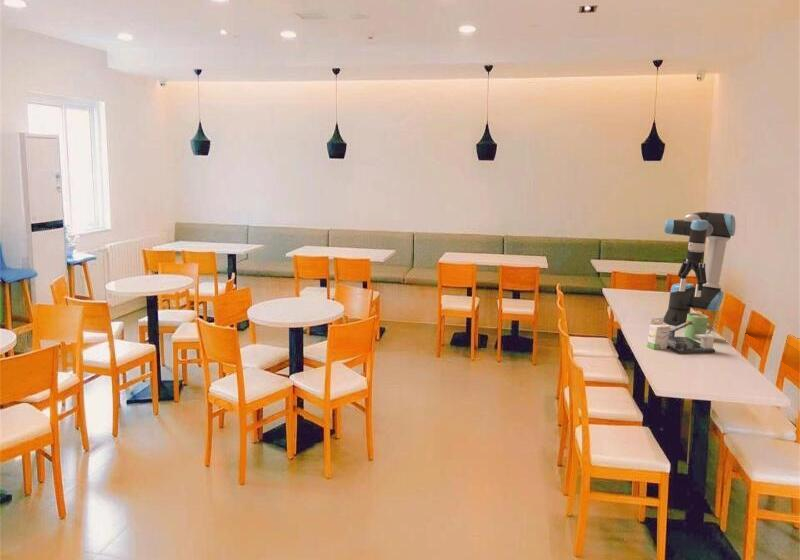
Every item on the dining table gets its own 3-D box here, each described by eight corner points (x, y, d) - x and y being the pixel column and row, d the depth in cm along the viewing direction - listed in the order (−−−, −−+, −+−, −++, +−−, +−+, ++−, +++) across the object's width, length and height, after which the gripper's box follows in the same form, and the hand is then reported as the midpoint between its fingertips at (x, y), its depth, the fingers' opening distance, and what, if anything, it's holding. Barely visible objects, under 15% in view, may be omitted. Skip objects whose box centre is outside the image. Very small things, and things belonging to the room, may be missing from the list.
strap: (670, 333, 320) (669, 331, 321) (693, 323, 303) (692, 321, 304) (665, 333, 320) (665, 331, 320) (688, 323, 303) (687, 321, 303)
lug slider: (706, 346, 310) (708, 334, 309) (712, 348, 306) (714, 336, 305) (692, 346, 308) (694, 334, 307) (698, 348, 304) (700, 336, 303)
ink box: (654, 349, 306) (658, 320, 303) (646, 346, 310) (650, 318, 307) (667, 348, 309) (671, 319, 306) (659, 345, 313) (663, 317, 310)
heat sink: (679, 341, 317) (680, 336, 317) (689, 346, 309) (690, 340, 309) (665, 341, 315) (666, 336, 315) (675, 346, 308) (676, 341, 307)
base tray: (685, 339, 326) (687, 327, 325) (714, 353, 305) (716, 340, 304) (651, 340, 322) (653, 328, 320) (678, 353, 301) (680, 341, 299)
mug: (684, 338, 328) (688, 316, 326) (683, 333, 338) (686, 312, 335) (711, 342, 324) (714, 319, 321) (709, 336, 333) (712, 315, 331)
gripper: (674, 247, 319) (668, 288, 323) (705, 254, 296) (698, 299, 300) (687, 247, 320) (681, 288, 325) (719, 255, 298) (712, 299, 302)
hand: (689, 293), depth 313 cm, fingers open, 11 cm apart
